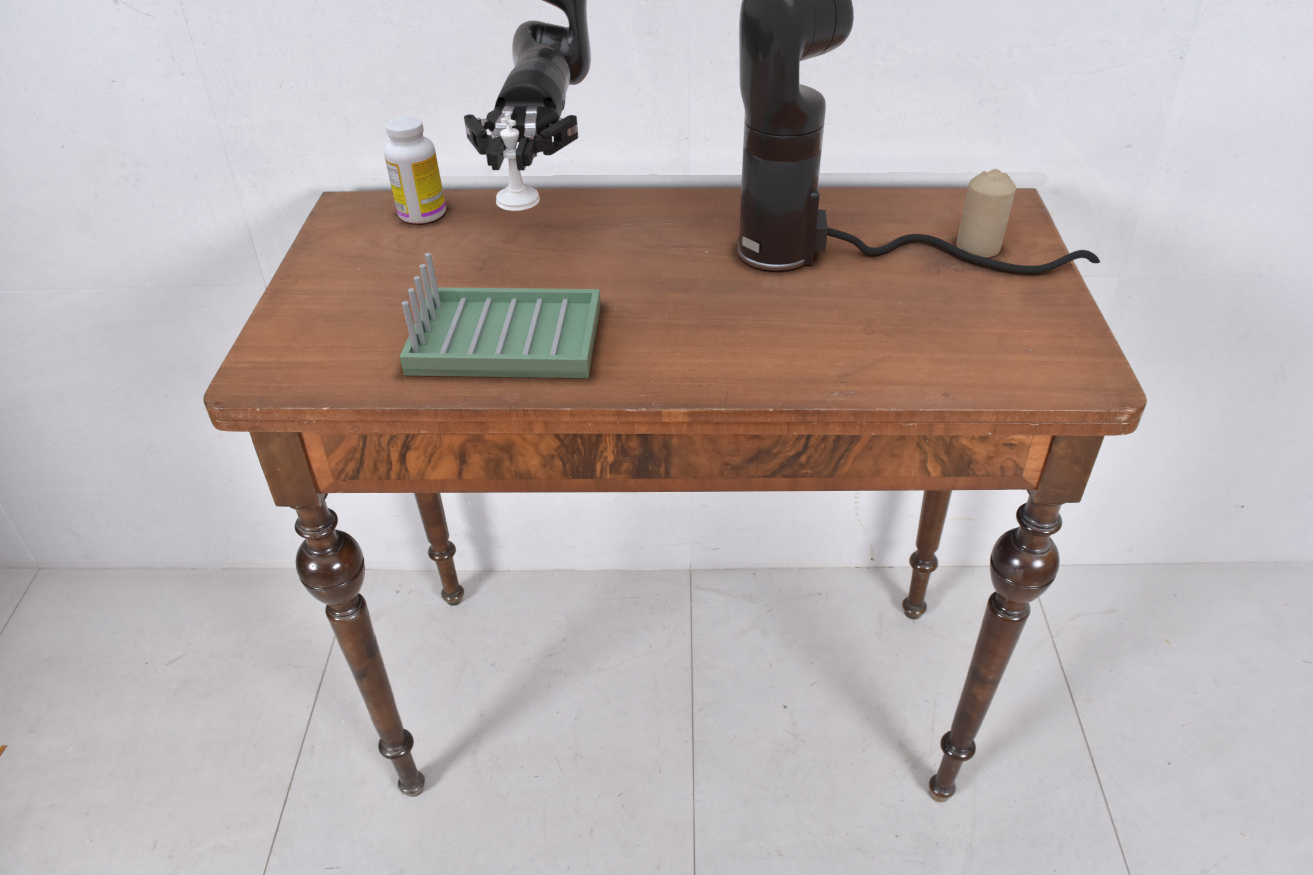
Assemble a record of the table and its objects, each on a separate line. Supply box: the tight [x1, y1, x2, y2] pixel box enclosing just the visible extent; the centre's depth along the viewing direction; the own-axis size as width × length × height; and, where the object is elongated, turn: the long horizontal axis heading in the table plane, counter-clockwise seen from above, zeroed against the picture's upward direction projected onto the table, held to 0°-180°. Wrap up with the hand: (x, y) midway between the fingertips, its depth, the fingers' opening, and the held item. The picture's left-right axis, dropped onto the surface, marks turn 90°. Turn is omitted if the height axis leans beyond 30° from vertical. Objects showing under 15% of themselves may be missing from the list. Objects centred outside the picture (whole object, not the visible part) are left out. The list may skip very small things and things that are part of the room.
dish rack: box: [399, 252, 602, 379], centre depth 102 cm, size 20×14×8 cm
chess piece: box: [495, 113, 541, 212], centre depth 101 cm, size 5×5×10 cm
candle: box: [955, 168, 1017, 258], centre depth 115 cm, size 6×6×10 cm
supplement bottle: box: [383, 116, 447, 224], centre depth 124 cm, size 7×7×13 cm
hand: (507, 162), depth 99 cm, fingers closed on chess piece
